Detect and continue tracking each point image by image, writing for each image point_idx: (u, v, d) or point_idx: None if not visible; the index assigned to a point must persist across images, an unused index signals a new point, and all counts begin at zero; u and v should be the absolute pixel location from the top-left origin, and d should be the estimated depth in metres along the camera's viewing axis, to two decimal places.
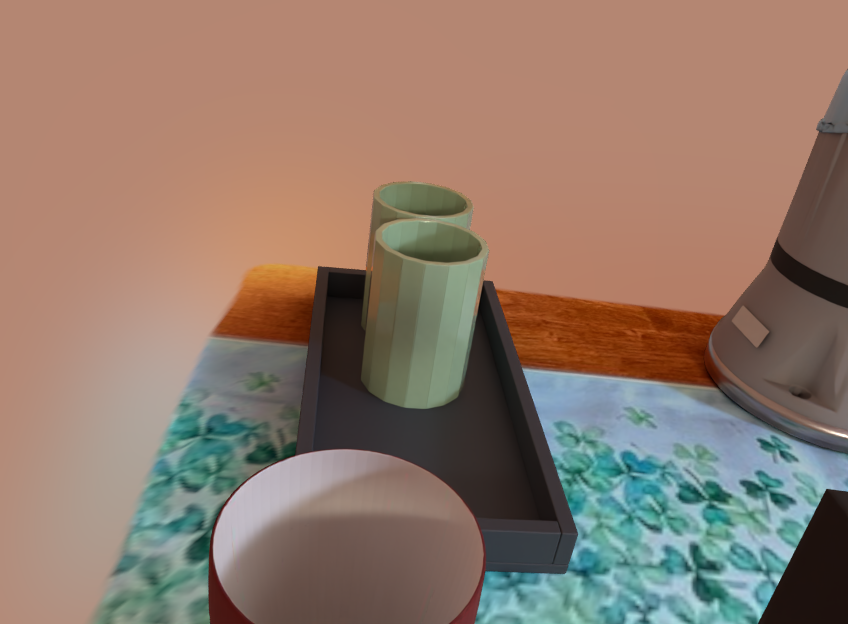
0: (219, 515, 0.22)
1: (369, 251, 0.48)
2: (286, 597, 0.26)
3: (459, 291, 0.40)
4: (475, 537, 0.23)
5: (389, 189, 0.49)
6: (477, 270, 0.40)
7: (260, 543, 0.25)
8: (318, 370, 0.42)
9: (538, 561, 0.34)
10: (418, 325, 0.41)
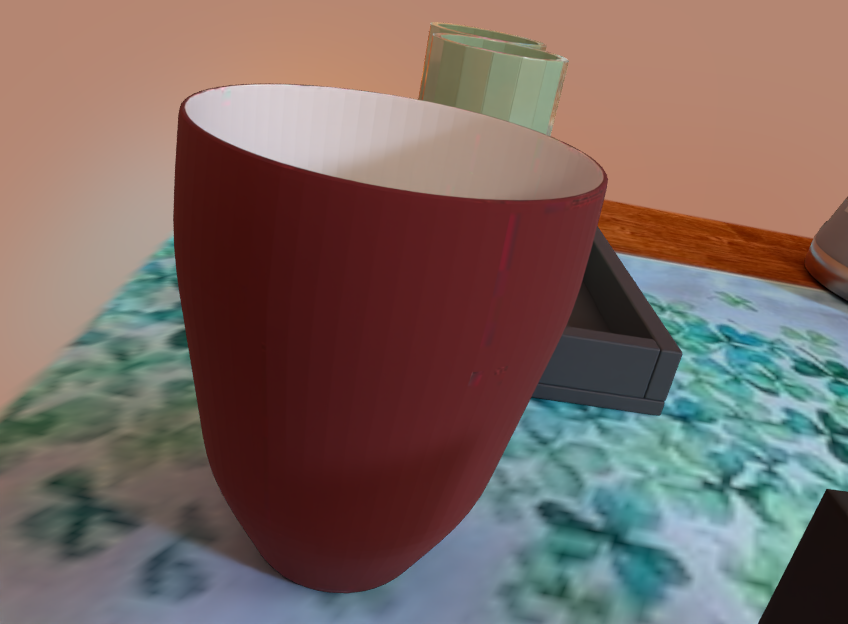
0: (203, 90, 0.14)
1: (420, 94, 0.41)
2: None
3: (531, 98, 0.33)
4: (584, 177, 0.15)
5: (448, 28, 0.42)
6: (554, 76, 0.33)
7: None
8: None
9: (626, 392, 0.26)
10: None
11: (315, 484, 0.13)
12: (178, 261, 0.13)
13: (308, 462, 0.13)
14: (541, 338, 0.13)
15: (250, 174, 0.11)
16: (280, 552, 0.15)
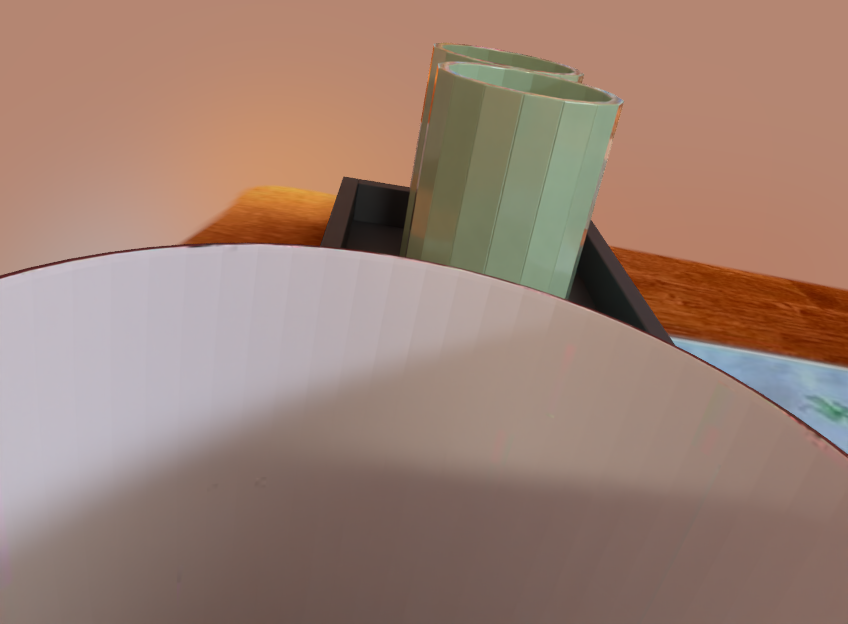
0: None
1: (420, 135, 0.32)
2: None
3: (575, 155, 0.24)
4: None
5: (455, 50, 0.33)
6: (607, 124, 0.24)
7: (105, 515, 0.08)
8: None
9: None
10: (501, 212, 0.24)
11: None
12: None
13: None
14: None
15: None
16: None
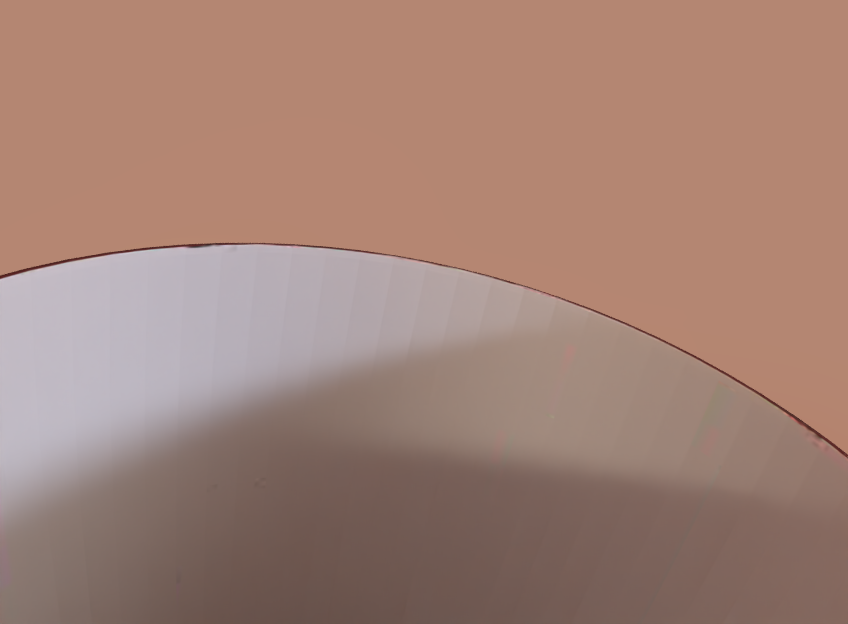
0: None
1: None
2: None
3: None
4: None
5: None
6: None
7: (105, 515, 0.08)
8: None
9: None
10: None
11: None
12: None
13: None
14: None
15: None
16: None
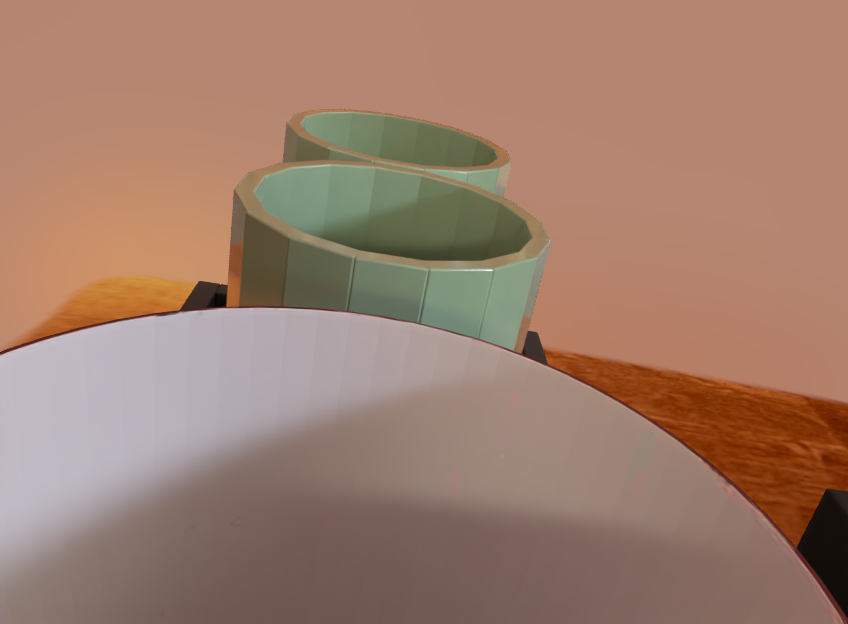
0: None
1: None
2: None
3: None
4: (776, 587, 0.06)
5: (332, 119, 0.23)
6: (516, 293, 0.14)
7: (89, 560, 0.09)
8: None
9: None
10: None
11: None
12: None
13: None
14: None
15: None
16: None
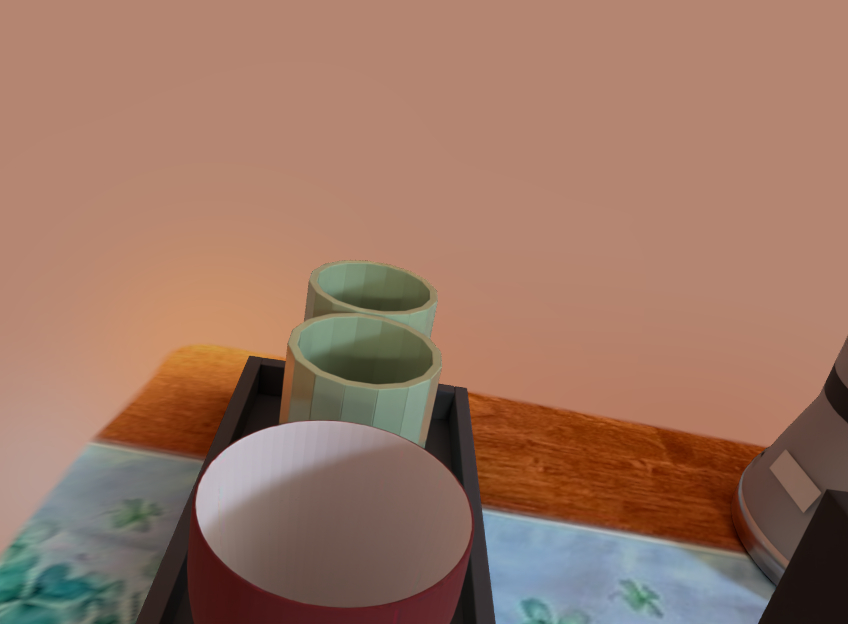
0: (207, 467, 0.21)
1: None
2: (270, 574, 0.26)
3: (394, 423, 0.29)
4: (465, 514, 0.22)
5: (334, 269, 0.38)
6: (421, 395, 0.29)
7: (248, 511, 0.24)
8: None
9: None
10: None
11: None
12: (190, 598, 0.20)
13: None
14: None
15: (237, 588, 0.18)
16: None
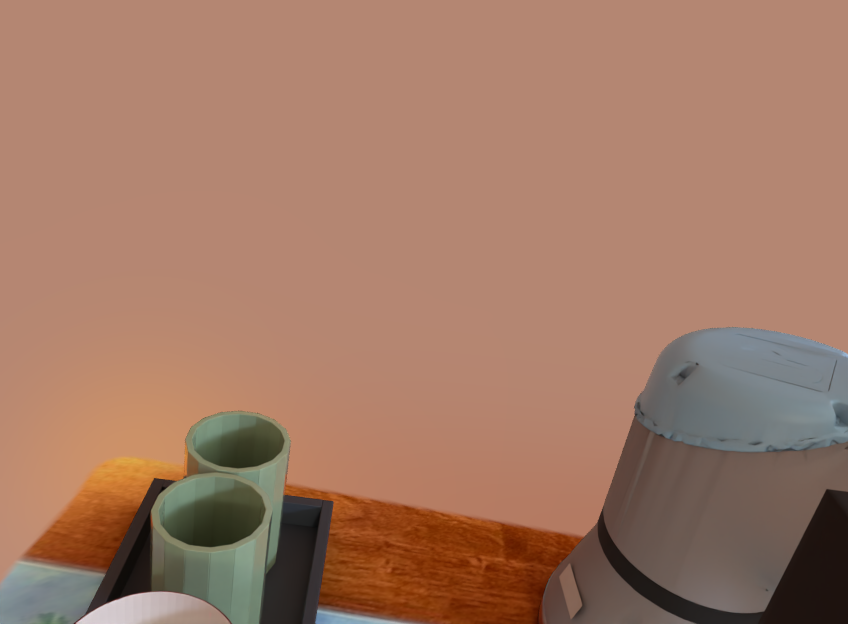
0: None
1: None
2: None
3: (227, 573, 0.39)
4: None
5: (212, 421, 0.48)
6: (248, 550, 0.39)
7: None
8: None
9: None
10: None
11: None
12: None
13: None
14: None
15: None
16: None
